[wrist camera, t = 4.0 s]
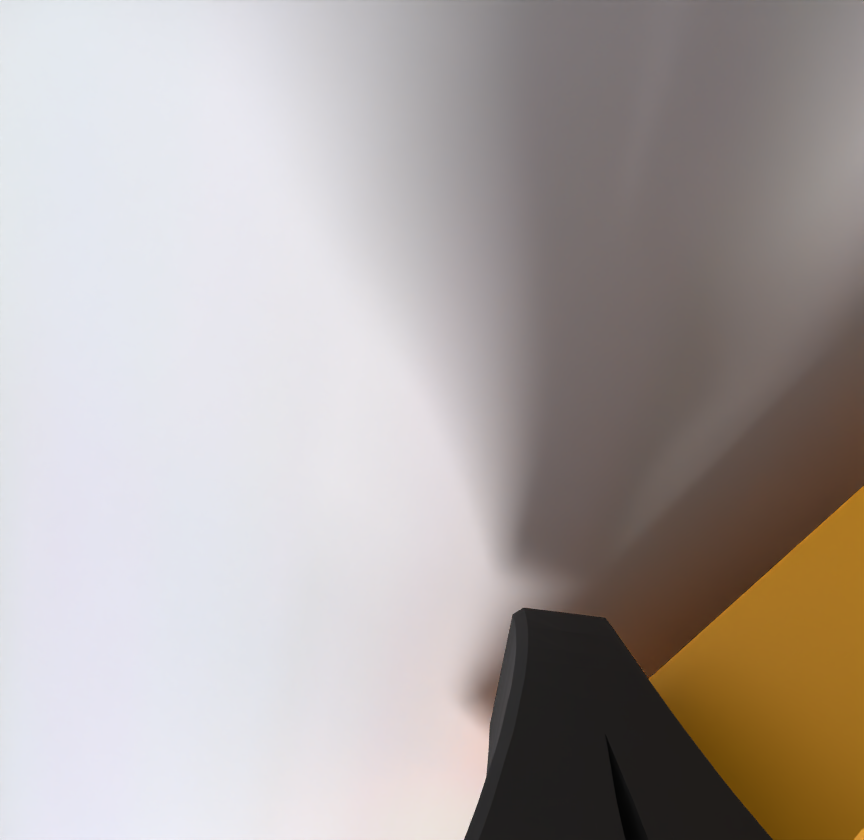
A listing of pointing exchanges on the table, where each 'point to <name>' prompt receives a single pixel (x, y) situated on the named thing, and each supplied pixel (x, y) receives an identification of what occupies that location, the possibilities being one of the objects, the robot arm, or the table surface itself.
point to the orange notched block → (786, 687)
